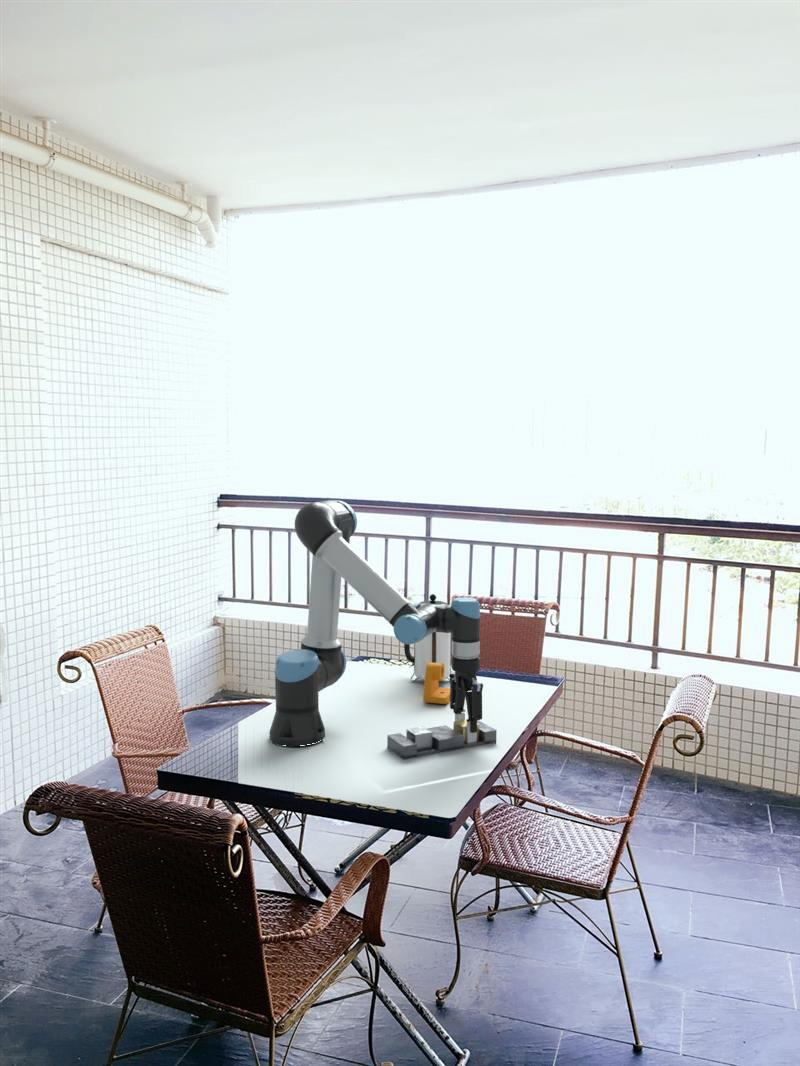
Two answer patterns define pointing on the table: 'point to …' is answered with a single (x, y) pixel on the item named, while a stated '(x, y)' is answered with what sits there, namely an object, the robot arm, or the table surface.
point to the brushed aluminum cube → (420, 738)
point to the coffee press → (431, 650)
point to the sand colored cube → (464, 729)
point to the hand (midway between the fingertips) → (465, 740)
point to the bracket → (435, 684)
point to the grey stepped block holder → (439, 741)
